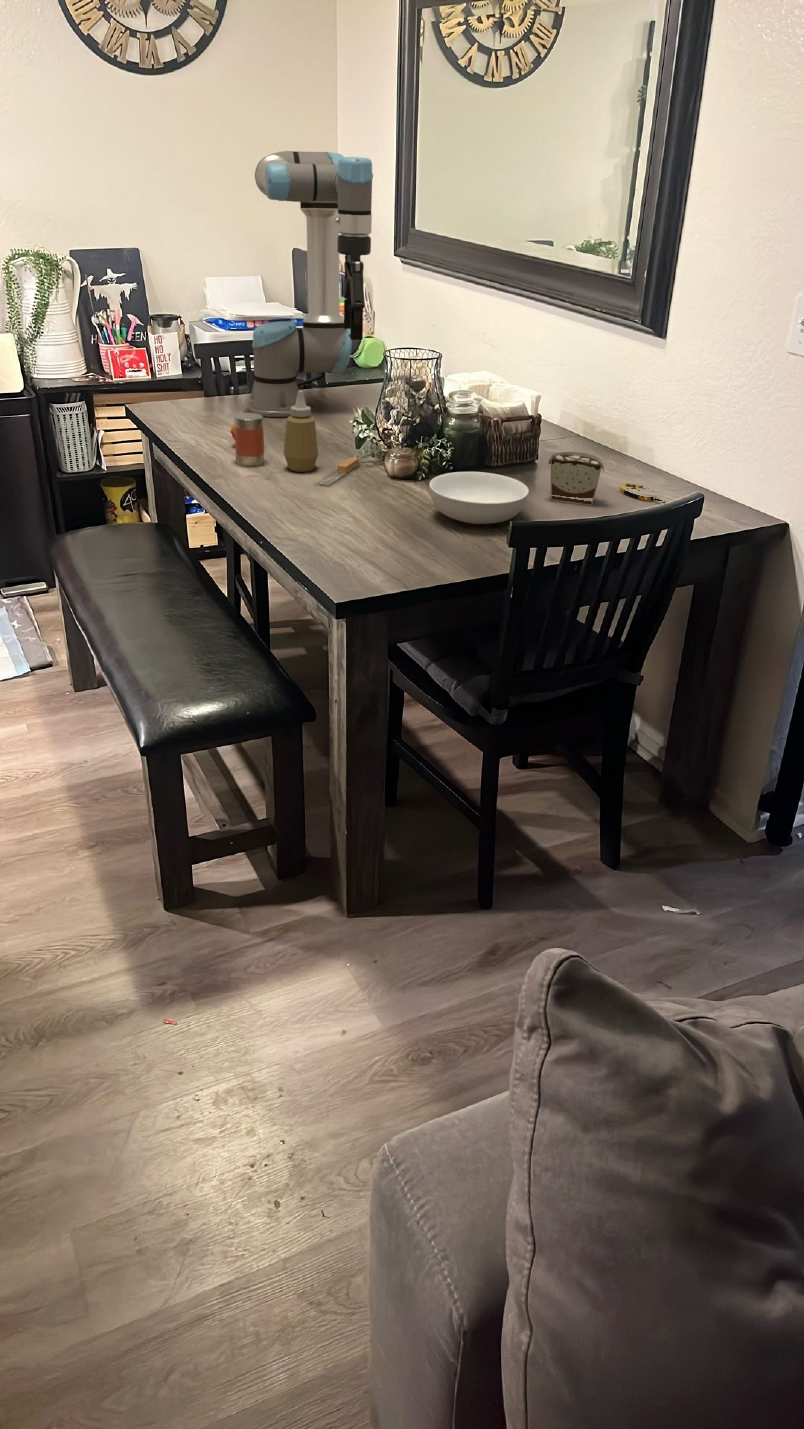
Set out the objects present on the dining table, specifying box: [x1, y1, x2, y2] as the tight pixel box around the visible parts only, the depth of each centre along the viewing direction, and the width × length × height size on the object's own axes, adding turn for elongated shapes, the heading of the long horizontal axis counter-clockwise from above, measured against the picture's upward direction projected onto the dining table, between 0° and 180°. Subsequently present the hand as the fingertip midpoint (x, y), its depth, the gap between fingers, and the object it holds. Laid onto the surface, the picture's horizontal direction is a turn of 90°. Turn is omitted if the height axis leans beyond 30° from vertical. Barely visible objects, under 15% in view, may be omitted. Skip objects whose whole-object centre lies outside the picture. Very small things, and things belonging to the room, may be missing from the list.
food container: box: [547, 451, 605, 507], centre depth 237 cm, size 12×6×10 cm, turn 71°
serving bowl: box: [428, 471, 530, 525], centre depth 225 cm, size 21×21×7 cm
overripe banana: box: [619, 482, 665, 504], centre depth 241 cm, size 5×2×15 cm
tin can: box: [233, 412, 265, 467], centre depth 252 cm, size 7×7×11 cm
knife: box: [318, 456, 360, 487], centre depth 249 cm, size 18×2×2 cm, turn 159°
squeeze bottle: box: [283, 390, 319, 473], centre depth 247 cm, size 8×8×18 cm
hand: (352, 334), depth 249 cm, fingers open, 13 cm apart
